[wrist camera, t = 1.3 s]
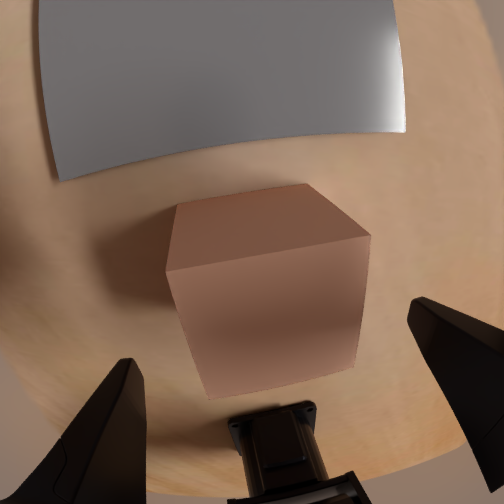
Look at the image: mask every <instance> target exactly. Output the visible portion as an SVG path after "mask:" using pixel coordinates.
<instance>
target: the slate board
mask: <svg viewBox="0 0 504 504" xmlns="http://www.w3.org/2000/svg"><path fill="white" fill-rule="evenodd" d="M39 53H40V68H41V79H42V88H43V96H44V104H45V111H46V117H47V123H48V129H49V134H50V140H51V145H52V150H53V154H54V159H55V163H56V168H57V172H58V176H59V180H60V182H62V181H66V180H69V179H72V178H76V177H79V176H82V175H86V174H89V173H93V172H97V171H100V170H104V169H108V168H112V167H116V166H120V165H124V164H128V163H132V162H136V161H141V160H145V159H150V158H154V157H159V156H164V155H169V154H174V153H179V152H184V151H190V150H195V149H201V148H207V147H213V146H220V145H226V144H233V143H240V142H248V141H256V140H264V139H273V138H283V137H294V136H306V135H320V134H337V133H364V132H406V125H405V97H404V82H403V70H402V60H401V51H400V43H399V36H398V29H397V22H396V16H395V11H394V5H393V0H39Z"/></svg>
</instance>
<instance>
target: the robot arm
mask: <svg viewBox="0 0 504 504" xmlns="http://www.w3.org/2000/svg"><path fill="white" fill-rule="evenodd" d="M407 322H408V326H409V328H410V330H411V332H412V334H413V336H414V338H415V340H416V342H417V345H418V347H419V349H420V351H421V353H422V355H423V357H424V359H425V361H426V363H427V365H428V367H429V368H430V370H431V372H432V374H433V375H434V377H435V379H436V381H437V382H438V384H439V386H440V388H441V390H442V392H443V393H444V395H445V397H446V399H447V401H448V403H449V405H450V406H451V408H452V410H453V412H454V414H455V416H456V418H457V420H458V422H459V424H460V426H461V428H462V430H463V432H464V434H465V436H466V438H467V440H468V443H469V445H470V447H471V449H472V451H473V454H474V456H475V458H476V460H477V462H478V465H479V467H480V469H481V472H482V474H483V476H484V479H485V481H486V484H487V486H488V489H489V491H490V492H491V493H493V492H494V491H496V490H497V489H498V488H500V487H501V486H503V485H504V331H503V330H501V329H499V328H497V327H494V326H492V325H490V324H487V323H485V322H483V321H480V320H478V319H476V318H473V317H471V316H469V315H466V314H464V313H461V312H459V311H457V310H454V309H452V308H450V307H447V306H445V305H442V304H440V303H438V302H435V301H433V300H430V299H428V298H425V297H418V298H415V299H413V300H412V301H411V304H410V308H409V313H408V317H407ZM316 410H317V408H316V405H315V403H314V402H308V403H304V404H300V405H296V406H292V407H288V408H283V409H279V410H274V411H270V412H265V413H260V414H255V415H249V416H244V417H238V418H232V419H230V420H228V427H229V430H230V433H231V435H232V438H233V440H234V443H235V446H236V448H237V451H238V453H239V455H240V456H242V460H243V465H244V470H245V476H246V481H247V486H248V491H249V496H250V498H243V499H228V500H227V504H372V503H371V501H370V500H369V498H368V496H367V494H366V493H365V491H364V489H363V487H362V486H361V484H360V482H359V480H358V478H357V477H356V475H355V473H354V471H350V472H347V473H345V474H344V475H341V476H338V477H335V478H332V479H329V477H328V474H327V471H326V468H325V466H324V463H323V460H322V457H321V454H320V451H319V449H318V446H317V443H316V440H315V437H314V428H315V419H316ZM146 432H147V422H146V407H145V390H144V378H143V375H142V373H141V371H140V369H139V368H138V366H137V364H136V362H135V360H134V359H133V358H123V359H120V360H119V361H118V362H117V363H116V365H115V366H114V367H113V368H112V370H111V371H110V372H109V374H108V375H107V376H106V377H105V379H104V380H103V381H102V383H101V384H100V385H99V386H98V388H97V389H96V390H95V392H94V393H93V394H92V396H91V397H90V398H89V399H88V401H87V402H86V403H85V405H84V406H83V407H82V409H81V410H80V411H79V413H78V414H77V415H76V417H75V418H74V419H73V421H72V422H71V423H70V425H69V426H68V427H67V429H66V430H65V431H64V433H63V434H62V435H61V438H59V439H58V441H57V442H56V444H55V445H54V446H53V448H52V449H51V450H50V451H49V453H48V454H47V455H46V457H45V458H44V459H43V460H42V462H41V463H40V464H39V465H38V466H37V467H36V469H35V470H34V471H33V472H32V473H31V474H30V475H29V476H28V478H27V479H26V480H25V481H24V482H23V483H22V484H21V486H20V487H19V488H18V489H17V490H16V491H15V492H14V493H13V494H12V495H10V496H9V497H7V498H6V499H3V500H0V504H146Z"/></svg>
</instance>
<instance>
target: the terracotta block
mask: <svg viewBox="0 0 504 504" xmlns="http://www.w3.org/2000/svg"><path fill="white" fill-rule="evenodd" d="M370 242H371V235H370V234H369V233H368V232H367V231H366V230H365V229H363V228H362V227H361V226H360V225H359V224H357V223H356V222H355V221H354V220H353V219H351V218H350V217H349V216H348V215H346V214H345V213H344V212H343V211H342V210H340V209H339V208H338V207H337V206H335V205H334V204H333V203H332V202H330V201H329V200H328V199H326V198H325V197H324V196H323V195H321V194H320V193H319V192H317V191H316V190H315V189H314V188H312V187H311V186H310V185H308V184H301V185H293V186H286V187H278V188H271V189H264V190H258V191H251V192H244V193H238V194H232V195H226V196H220V197H214V198H208V199H202V200H197V201H191V202H186V203H181V204H177V209H176V214H175V219H174V224H173V230H172V235H171V241H170V247H169V252H168V258H167V265H166V271H165V272H166V276H167V279H168V282H169V286H170V289H171V292H172V296H173V299H174V302H175V305H176V309H177V312H178V315H179V318H180V321H181V324H182V327H183V330H184V333H185V336H186V339H187V342H188V345H189V348H190V350H191V353H192V356H193V359H194V362H195V364H196V367H197V370H198V373H199V375H200V378H201V381H202V383H203V386H204V388H205V391H206V394H207V396H208V399H209V400H211V399H218V398H224V397H230V396H236V395H242V394H247V393H253V392H258V391H263V390H268V389H272V388H277V387H281V386H286V385H290V384H294V383H298V382H303V381H307V380H310V379H314V378H318V377H322V376H325V375H329V374H333V373H336V372H339V371H343V370H346V369H349V368H353V367H354V364H355V358H356V353H357V347H358V341H359V335H360V329H361V322H362V315H363V308H364V301H365V293H366V284H367V275H368V265H369V254H370Z"/></svg>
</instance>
